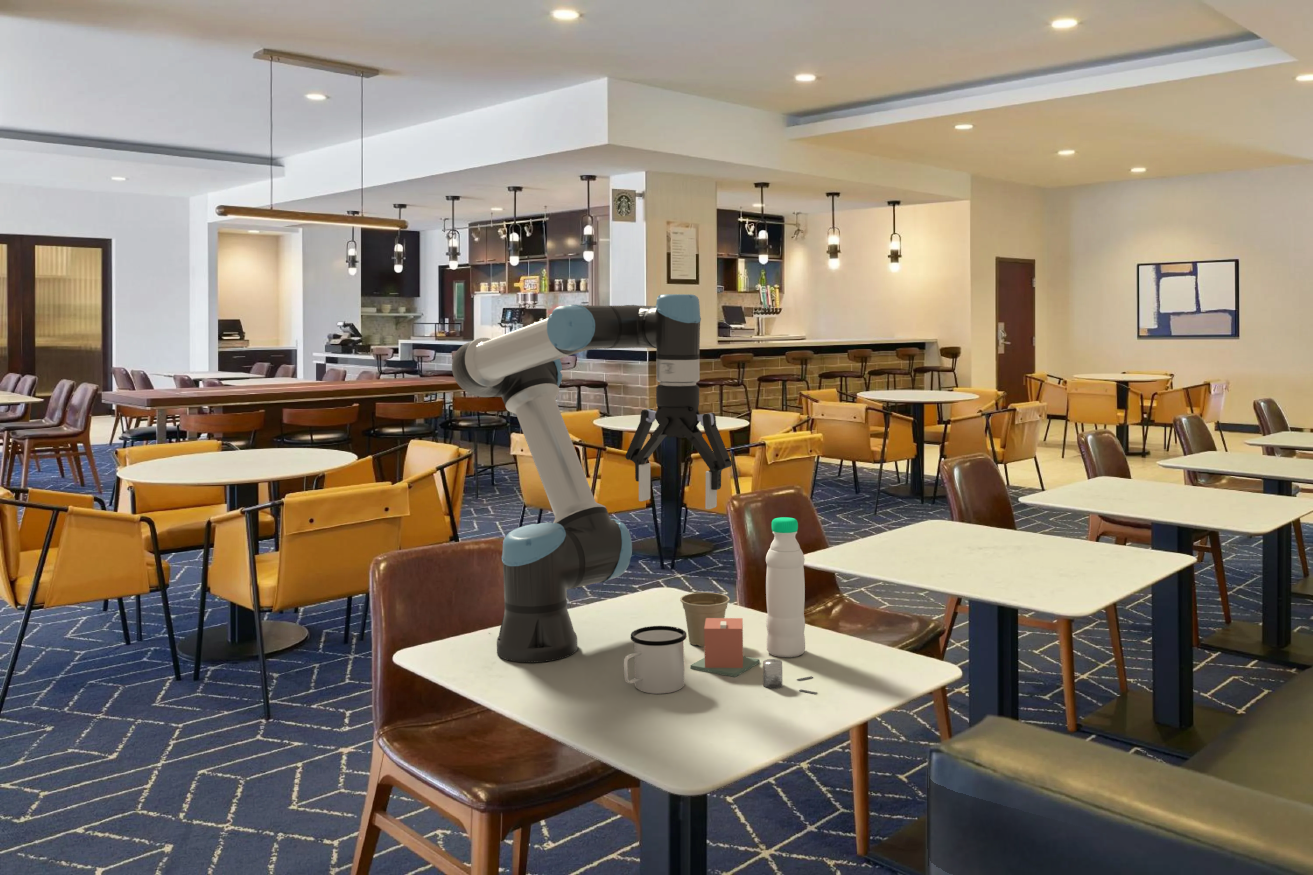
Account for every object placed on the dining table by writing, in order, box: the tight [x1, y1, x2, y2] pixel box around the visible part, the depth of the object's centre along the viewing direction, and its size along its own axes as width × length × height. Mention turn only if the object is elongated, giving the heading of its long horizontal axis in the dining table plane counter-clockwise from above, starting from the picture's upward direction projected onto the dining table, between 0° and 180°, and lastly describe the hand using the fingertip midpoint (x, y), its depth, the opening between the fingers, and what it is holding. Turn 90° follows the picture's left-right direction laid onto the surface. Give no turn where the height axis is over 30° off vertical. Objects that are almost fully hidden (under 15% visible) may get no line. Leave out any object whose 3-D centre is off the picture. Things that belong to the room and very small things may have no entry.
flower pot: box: [680, 591, 730, 648], centre depth 196 cm, size 9×9×9 cm
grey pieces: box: [762, 658, 818, 695], centre depth 172 cm, size 10×9×4 cm
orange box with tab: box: [704, 617, 744, 668], centre depth 183 cm, size 7×7×8 cm
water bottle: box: [765, 516, 806, 658], centre depth 188 cm, size 7×7×25 cm
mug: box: [623, 625, 688, 695], centre depth 172 cm, size 12×10×9 cm
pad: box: [690, 655, 761, 678], centre depth 183 cm, size 9×9×1 cm
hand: (677, 504), depth 181 cm, fingers open, 13 cm apart
